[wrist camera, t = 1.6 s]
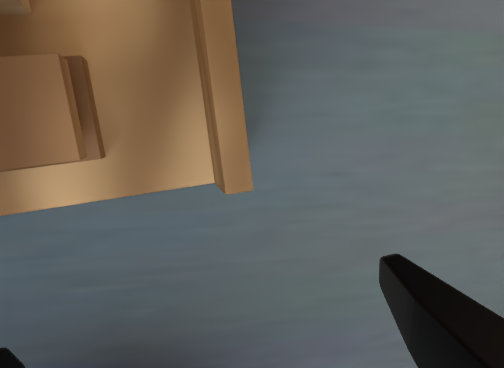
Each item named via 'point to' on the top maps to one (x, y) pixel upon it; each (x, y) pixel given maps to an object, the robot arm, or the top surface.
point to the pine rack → (139, 98)
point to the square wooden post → (14, 7)
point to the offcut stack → (47, 112)
